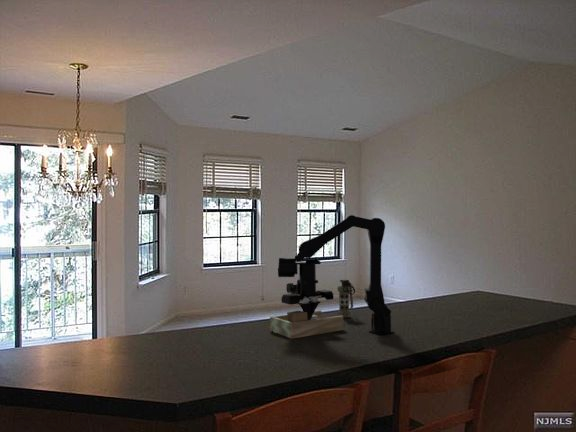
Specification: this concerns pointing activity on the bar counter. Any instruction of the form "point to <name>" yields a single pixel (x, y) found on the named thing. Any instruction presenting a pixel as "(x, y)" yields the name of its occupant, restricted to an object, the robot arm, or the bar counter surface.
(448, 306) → the bar counter surface
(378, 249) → the robot arm
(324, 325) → the box
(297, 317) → the walnut block
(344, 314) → the grenade model
